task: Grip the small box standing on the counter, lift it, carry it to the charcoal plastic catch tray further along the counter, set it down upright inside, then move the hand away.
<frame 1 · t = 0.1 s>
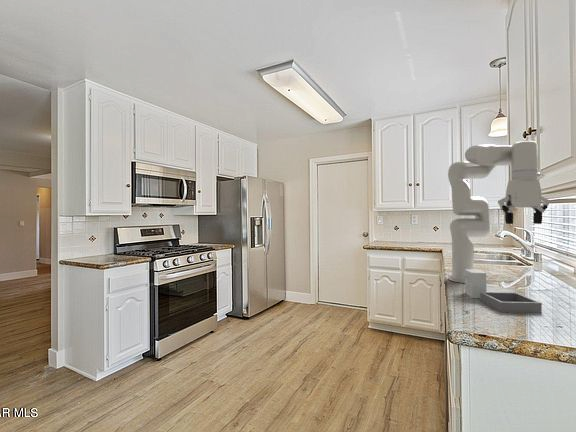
hand: (523, 223, 112), 31 cm above the countertop, tool pointing down, fingers open, 9 cm apart
small box: (475, 296, 130), on the countertop
catch tray: (508, 306, 116), on the countertop
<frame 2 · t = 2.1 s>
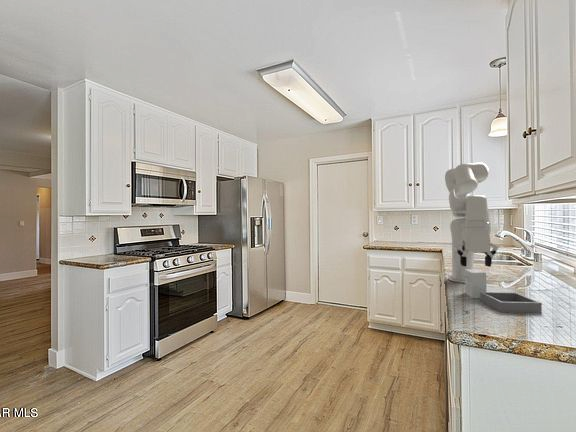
hand: (475, 266, 129), 13 cm above the countertop, tool pointing down, fingers open, 9 cm apart
nothing on the countertop moved.
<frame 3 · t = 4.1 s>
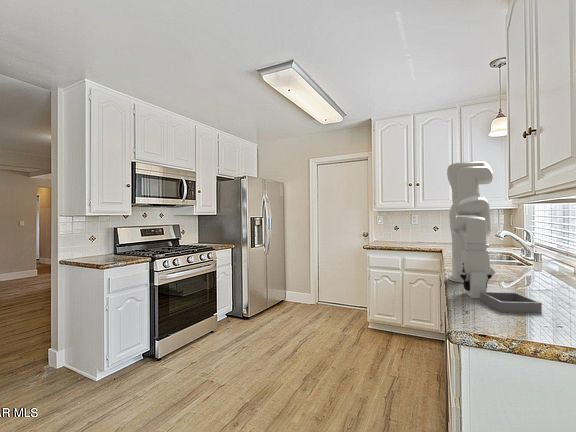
hand: (475, 289, 130), 3 cm above the countertop, tool pointing down, fingers closed on small box, 6 cm apart
small box: (475, 296, 130), on the countertop, touching gripper
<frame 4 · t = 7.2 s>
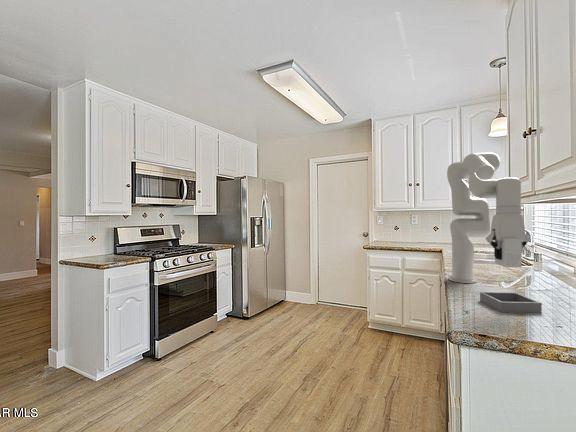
hand: (507, 258, 116), 18 cm above the countertop, tool pointing down, fingers closed on small box, 6 cm apart
small box: (507, 266, 116), point 15 cm above the countertop, touching gripper
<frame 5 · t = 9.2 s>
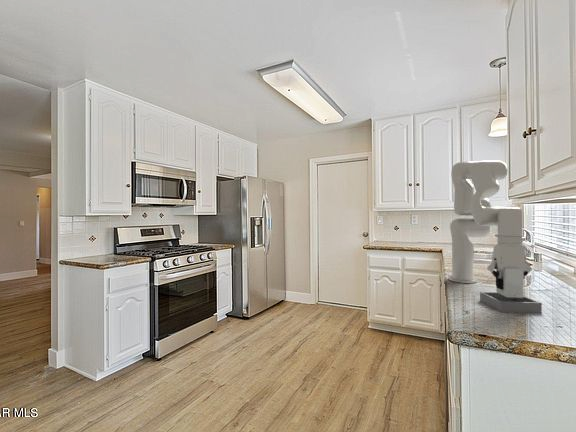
hand: (509, 288, 116), 7 cm above the countertop, tool pointing down, fingers closed on small box, 6 cm apart
small box: (509, 295, 116), point 4 cm above the countertop, touching gripper
when the fingers open (4 cm above the countertop, at t = 10.6 s): small box drops 1 cm, resting on catch tray.
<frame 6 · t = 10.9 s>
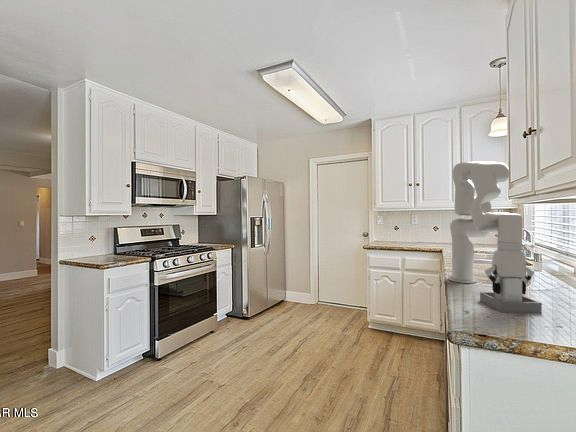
hand: (509, 292, 116), 5 cm above the countertop, tool pointing down, fingers open, 8 cm apart
small box: (507, 305, 116), resting on catch tray
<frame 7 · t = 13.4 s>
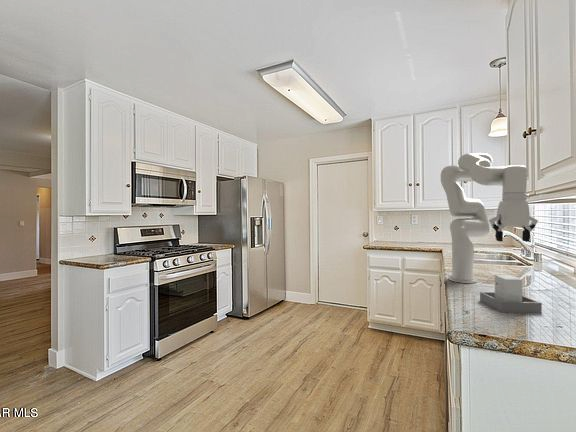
hand: (512, 241, 122), 24 cm above the countertop, tool pointing down, fingers open, 9 cm apart
nothing on the countertop moved.
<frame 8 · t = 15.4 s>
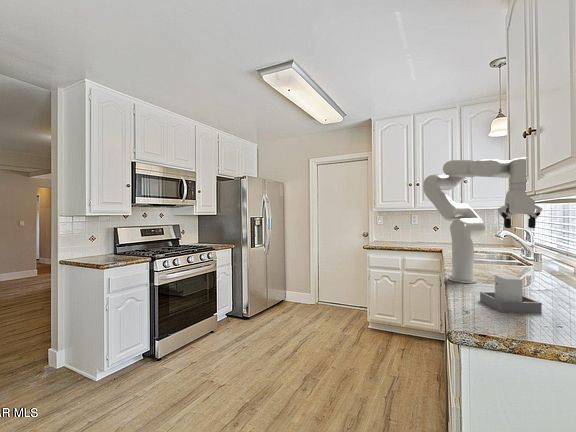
hand: (519, 227, 132), 28 cm above the countertop, tool pointing down, fingers open, 9 cm apart
nothing on the countertop moved.
at the end: small box inside the target area on the catch tray (0.4 cm from its centre), point 0.3 cm above the catch tray's base; small box tilted 0°; the gripper is holding nothing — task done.
